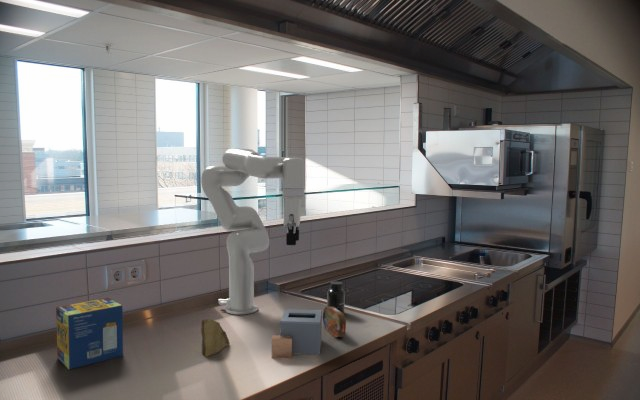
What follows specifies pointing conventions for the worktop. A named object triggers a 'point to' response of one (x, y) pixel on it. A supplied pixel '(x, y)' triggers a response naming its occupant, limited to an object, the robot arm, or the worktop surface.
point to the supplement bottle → (336, 296)
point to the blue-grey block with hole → (303, 329)
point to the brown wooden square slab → (282, 347)
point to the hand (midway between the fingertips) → (292, 242)
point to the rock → (212, 337)
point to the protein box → (89, 332)
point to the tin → (334, 321)
